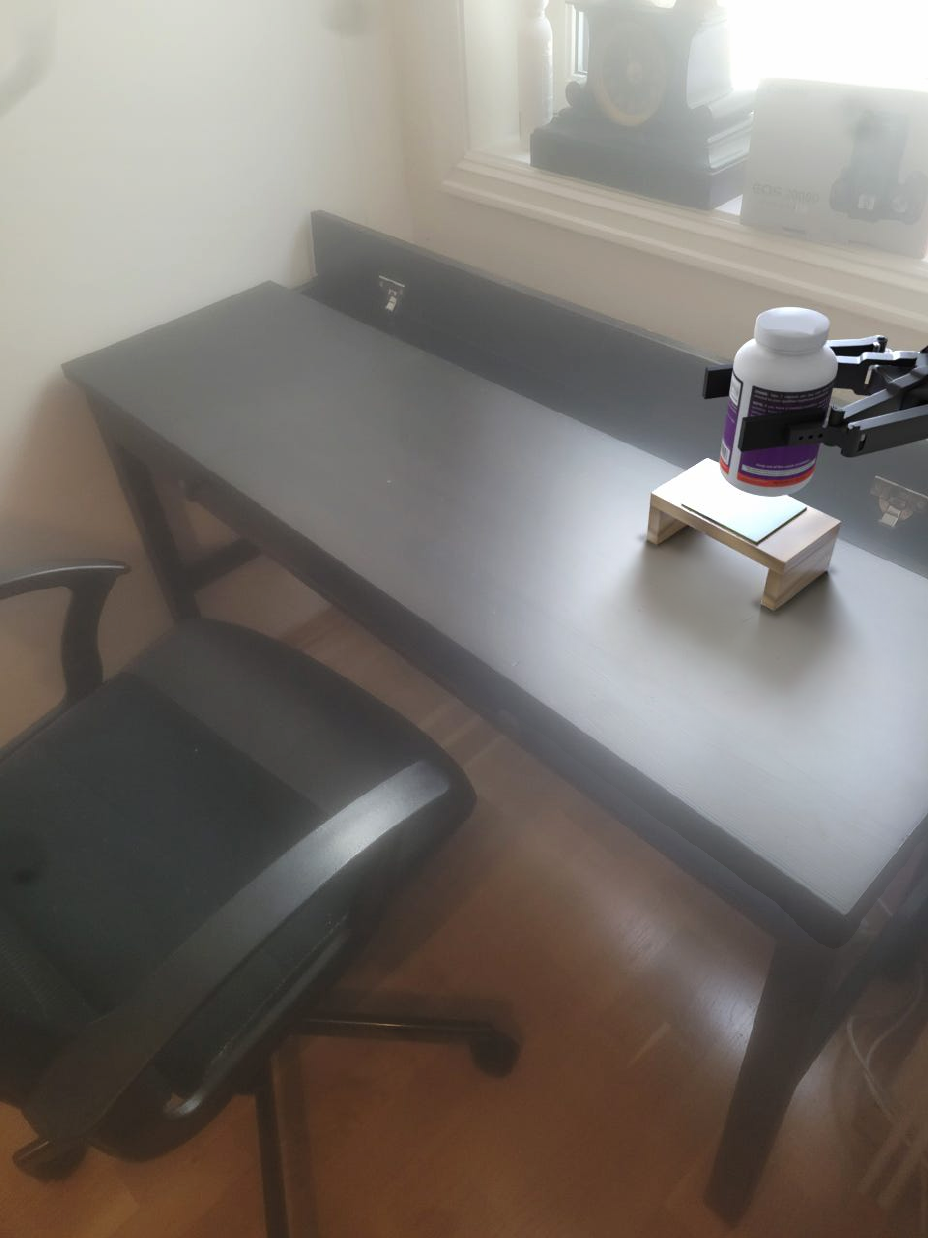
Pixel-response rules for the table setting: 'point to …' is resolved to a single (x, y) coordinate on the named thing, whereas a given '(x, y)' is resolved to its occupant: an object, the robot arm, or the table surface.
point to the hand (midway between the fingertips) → (722, 407)
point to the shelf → (748, 527)
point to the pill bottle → (777, 398)
